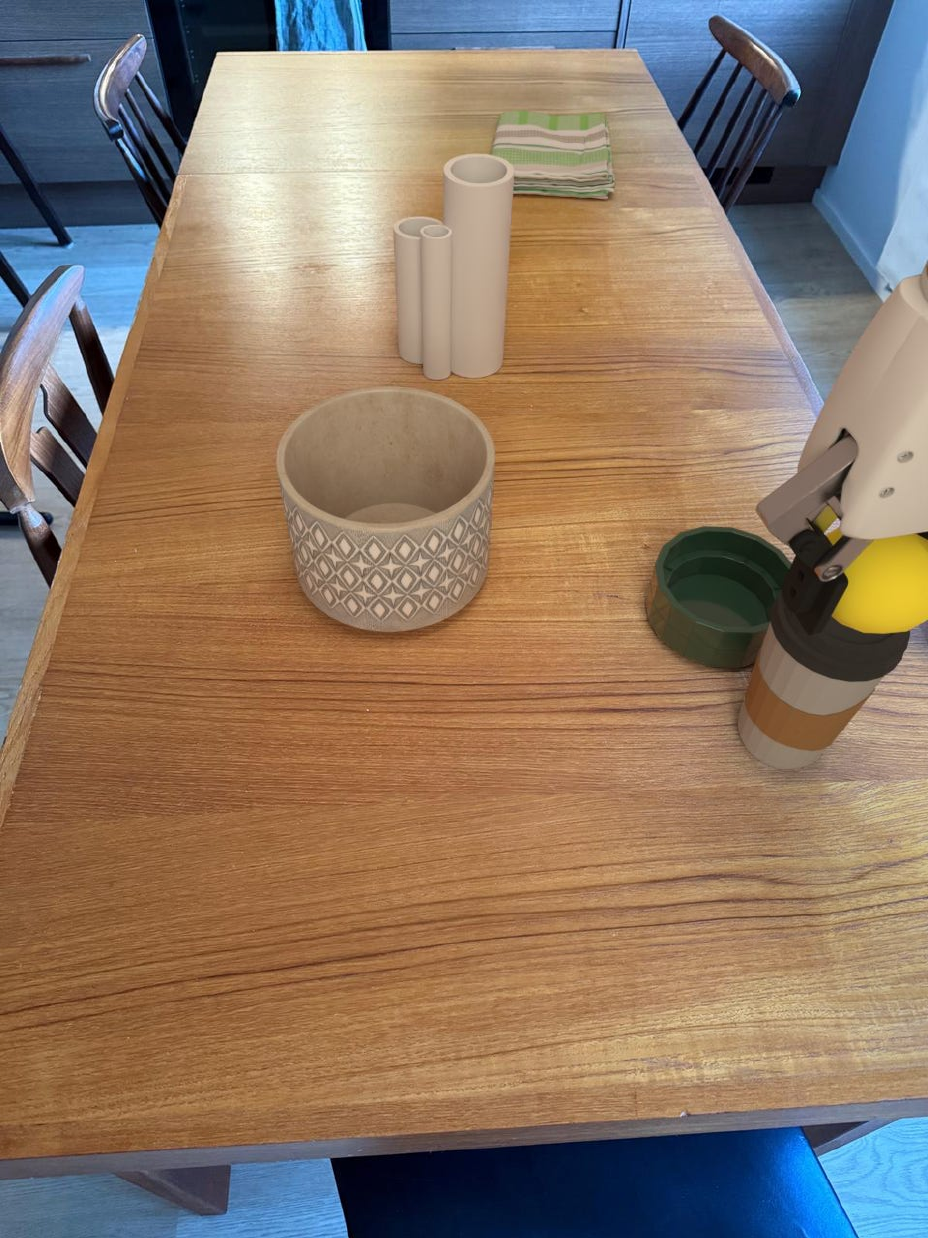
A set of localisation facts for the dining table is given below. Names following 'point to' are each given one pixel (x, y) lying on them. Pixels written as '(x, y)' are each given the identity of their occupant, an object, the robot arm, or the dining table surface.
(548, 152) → the dish towel
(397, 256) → the vase
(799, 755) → the coffee cup
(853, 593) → the lemon
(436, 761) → the dining table surface
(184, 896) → the dining table surface
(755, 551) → the bowl
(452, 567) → the planter
